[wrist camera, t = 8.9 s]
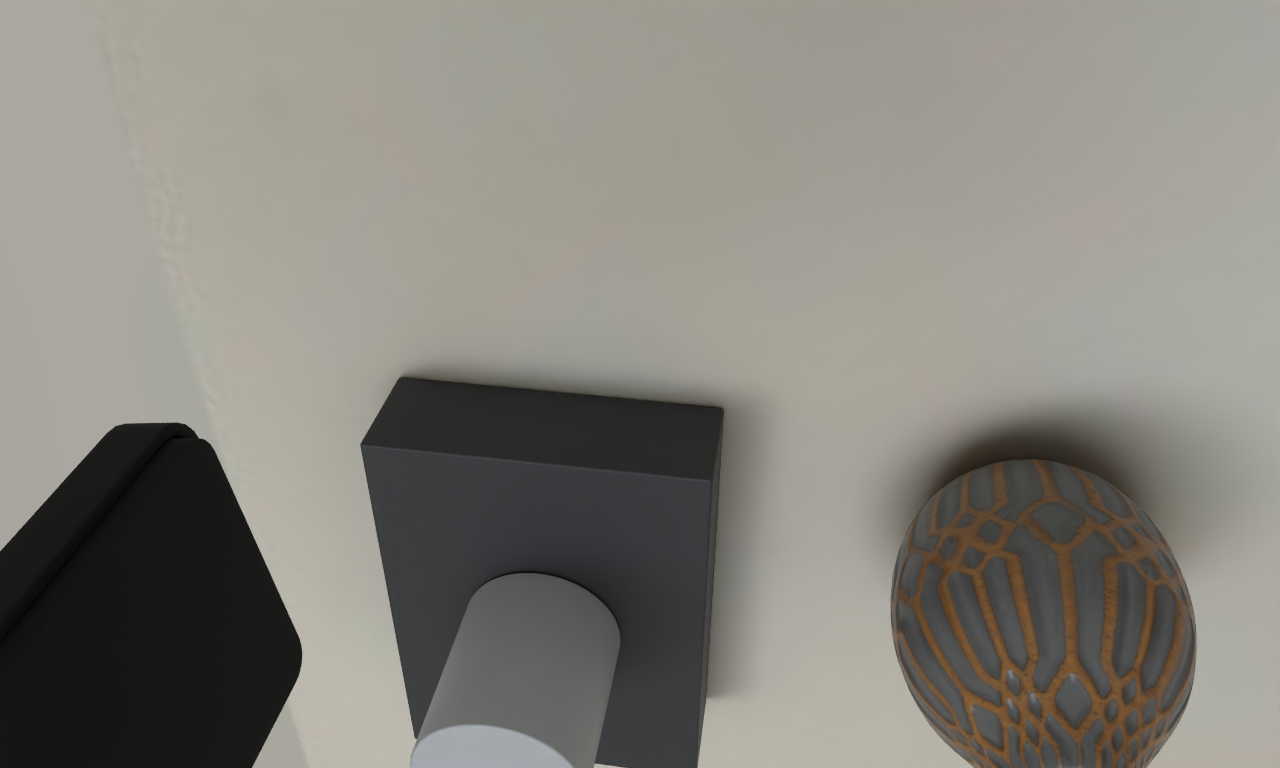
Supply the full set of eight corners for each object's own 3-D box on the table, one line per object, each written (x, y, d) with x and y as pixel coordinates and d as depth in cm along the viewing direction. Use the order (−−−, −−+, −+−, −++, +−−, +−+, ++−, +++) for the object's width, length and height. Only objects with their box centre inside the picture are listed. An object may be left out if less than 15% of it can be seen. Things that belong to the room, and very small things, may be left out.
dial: (476, 672, 32) (419, 836, 28) (458, 564, 29) (392, 726, 25) (623, 688, 31) (588, 858, 27) (617, 579, 29) (578, 748, 24)
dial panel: (398, 376, 30) (358, 444, 27) (724, 407, 29) (713, 480, 26) (442, 665, 37) (413, 739, 34) (706, 699, 36) (695, 778, 33)
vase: (835, 494, 30) (832, 766, 23) (1065, 370, 26) (1145, 645, 19) (976, 639, 32) (1013, 926, 25) (1204, 542, 29) (1319, 843, 22)
